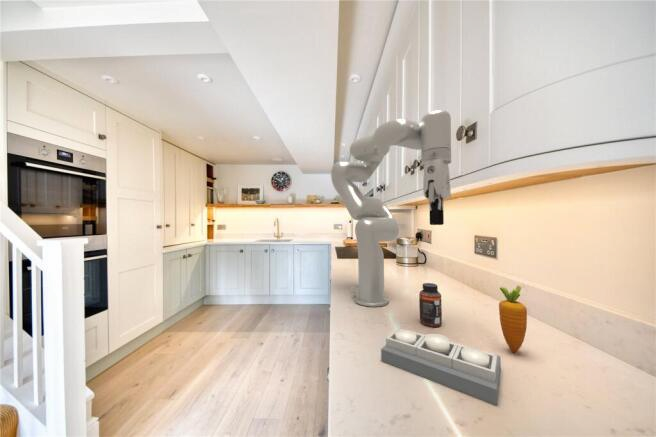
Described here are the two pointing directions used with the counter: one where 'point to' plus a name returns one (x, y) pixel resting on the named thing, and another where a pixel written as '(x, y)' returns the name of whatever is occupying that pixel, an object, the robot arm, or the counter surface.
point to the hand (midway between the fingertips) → (436, 224)
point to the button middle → (437, 343)
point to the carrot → (513, 319)
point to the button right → (475, 357)
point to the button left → (406, 336)
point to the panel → (445, 367)
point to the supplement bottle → (430, 305)
